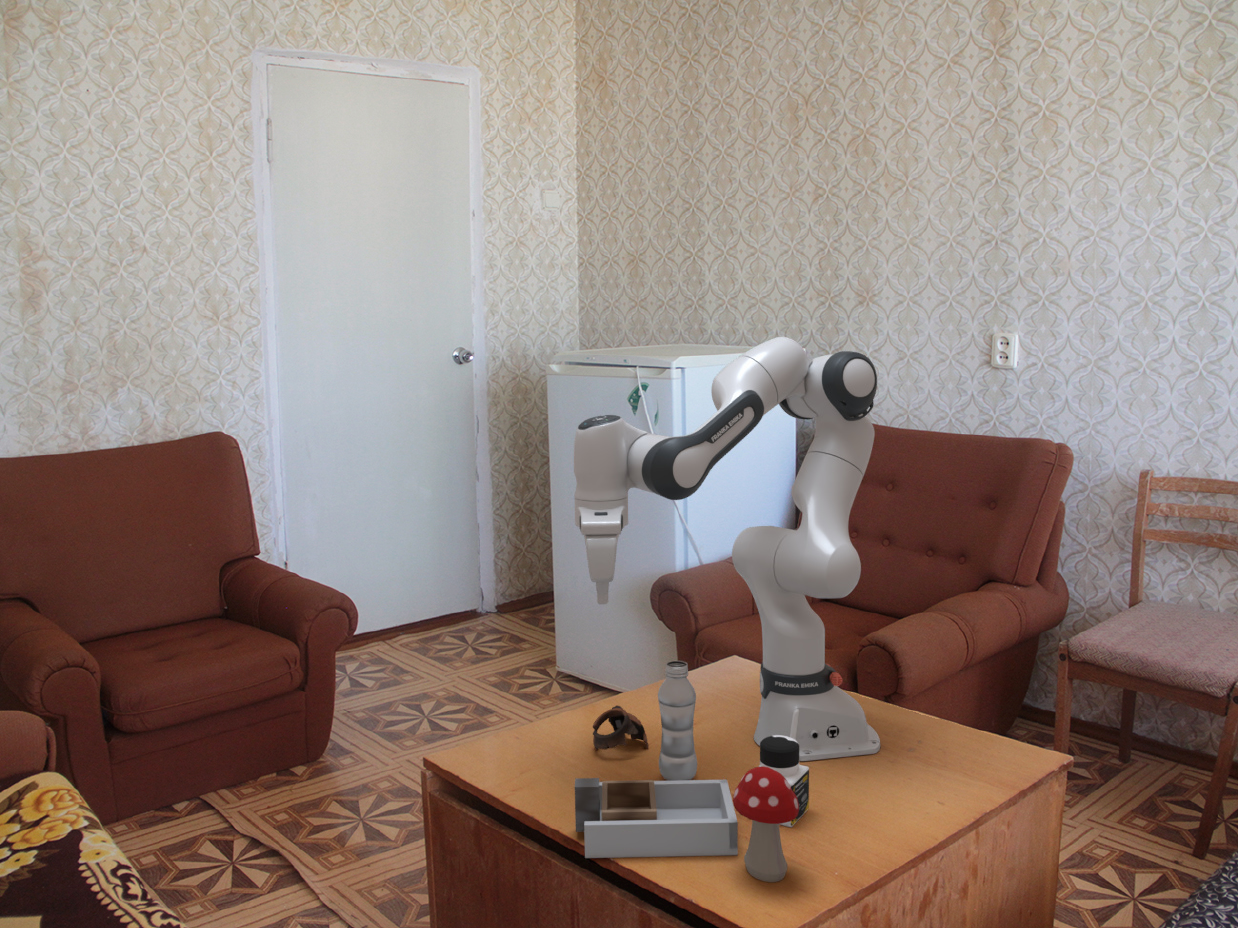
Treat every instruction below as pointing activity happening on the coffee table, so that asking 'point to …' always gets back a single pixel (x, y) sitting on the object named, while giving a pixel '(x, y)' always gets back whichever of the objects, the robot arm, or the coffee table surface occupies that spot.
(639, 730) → the broken clay pot
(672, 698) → the plastic bottle
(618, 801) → the crate
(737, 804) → the decorative mushroom
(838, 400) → the robot arm
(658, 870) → the coffee table surface
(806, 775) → the medicine bottle
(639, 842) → the bay
